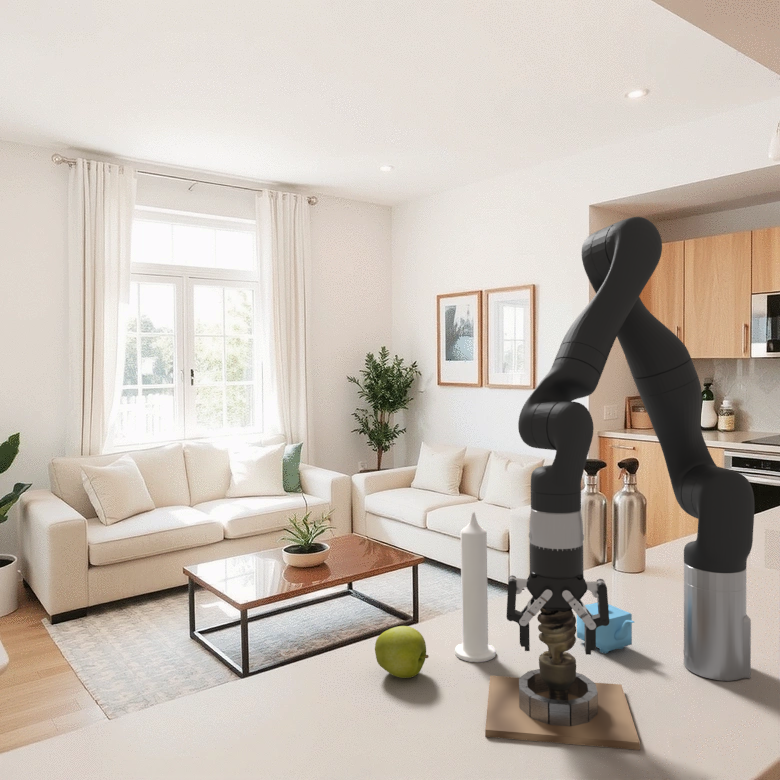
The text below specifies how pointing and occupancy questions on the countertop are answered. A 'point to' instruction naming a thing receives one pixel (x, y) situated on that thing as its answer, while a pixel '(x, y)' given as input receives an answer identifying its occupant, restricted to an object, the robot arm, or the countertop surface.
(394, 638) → the apple
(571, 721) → the ring seat
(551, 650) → the light bulb
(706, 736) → the countertop surface
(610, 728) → the board
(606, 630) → the teapot
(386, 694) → the countertop surface
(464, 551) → the candle
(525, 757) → the countertop surface
